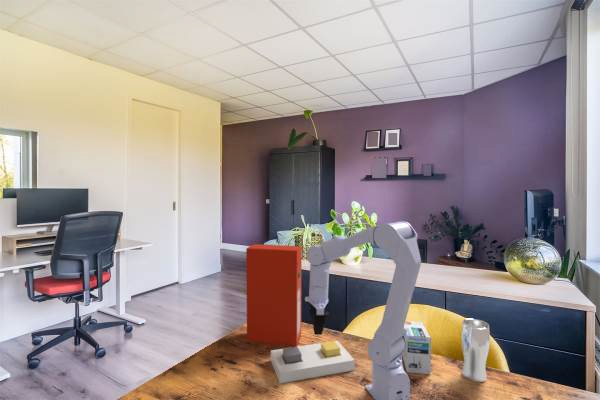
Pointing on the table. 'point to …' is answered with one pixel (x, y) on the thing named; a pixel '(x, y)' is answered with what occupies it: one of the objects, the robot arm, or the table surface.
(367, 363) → the table surface
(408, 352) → the light bulb box
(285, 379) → the board
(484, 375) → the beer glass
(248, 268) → the file binder
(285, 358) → the graphite key
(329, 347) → the mustard key
